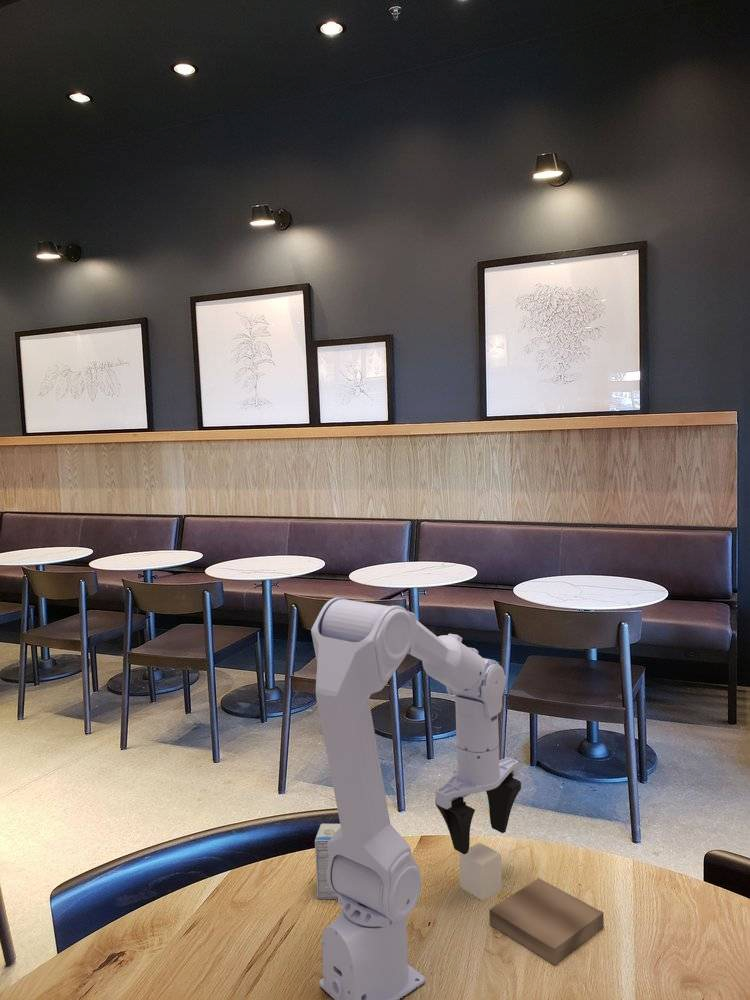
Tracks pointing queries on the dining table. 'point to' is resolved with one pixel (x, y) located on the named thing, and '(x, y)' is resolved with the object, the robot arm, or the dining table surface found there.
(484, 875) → the off-white block
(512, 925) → the walnut plinth
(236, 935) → the dining table surface
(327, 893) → the medicine box
